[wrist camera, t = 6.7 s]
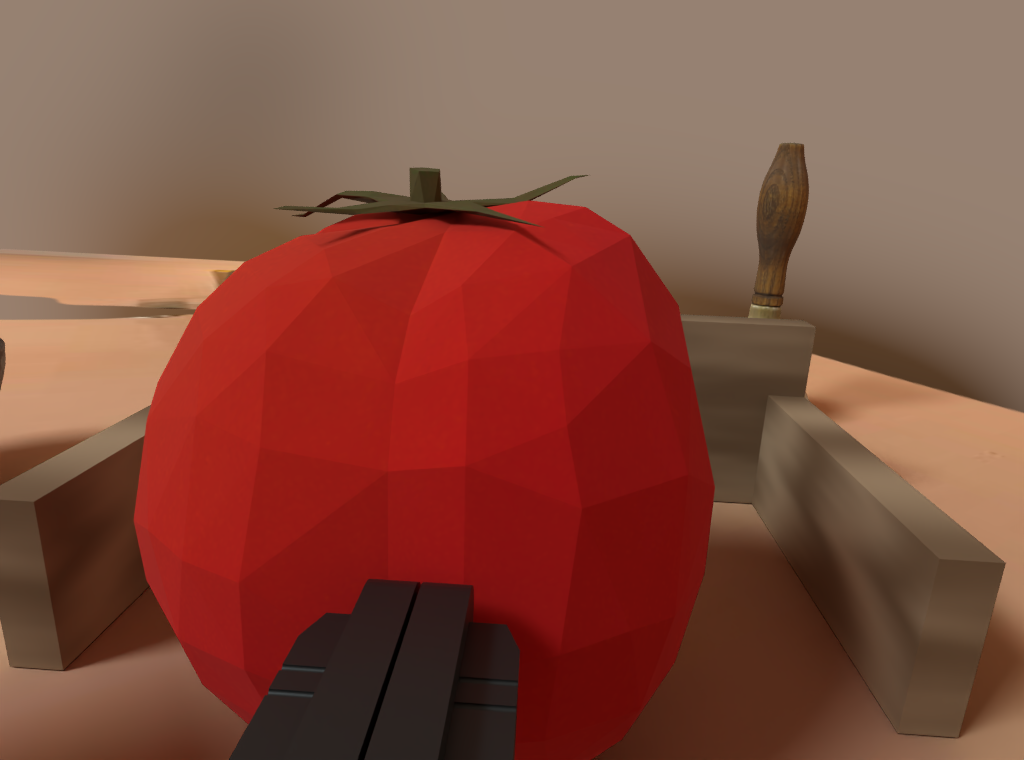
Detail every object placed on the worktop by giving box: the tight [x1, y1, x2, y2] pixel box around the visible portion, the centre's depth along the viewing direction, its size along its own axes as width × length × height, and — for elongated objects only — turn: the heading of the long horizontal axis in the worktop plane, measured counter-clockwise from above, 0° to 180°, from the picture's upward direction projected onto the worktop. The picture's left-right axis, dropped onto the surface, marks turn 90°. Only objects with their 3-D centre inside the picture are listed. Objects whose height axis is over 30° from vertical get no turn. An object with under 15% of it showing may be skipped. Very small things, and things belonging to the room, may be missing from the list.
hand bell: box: [748, 143, 809, 401], centre depth 39 cm, size 8×8×16 cm
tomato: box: [134, 168, 715, 760], centre depth 16 cm, size 13×13×13 cm
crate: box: [0, 314, 1006, 738], centre depth 23 cm, size 14×25×8 cm, turn 87°
